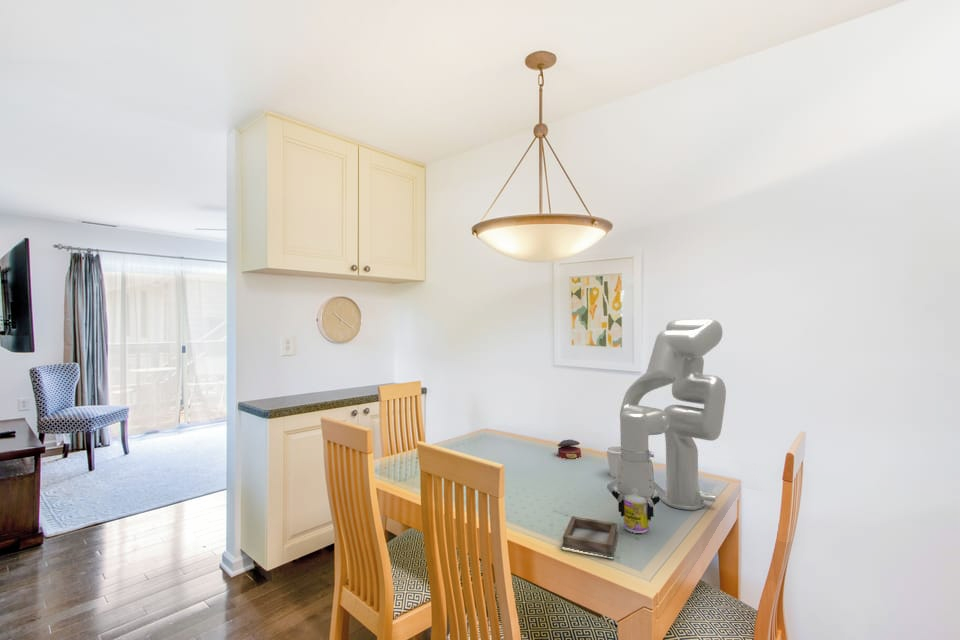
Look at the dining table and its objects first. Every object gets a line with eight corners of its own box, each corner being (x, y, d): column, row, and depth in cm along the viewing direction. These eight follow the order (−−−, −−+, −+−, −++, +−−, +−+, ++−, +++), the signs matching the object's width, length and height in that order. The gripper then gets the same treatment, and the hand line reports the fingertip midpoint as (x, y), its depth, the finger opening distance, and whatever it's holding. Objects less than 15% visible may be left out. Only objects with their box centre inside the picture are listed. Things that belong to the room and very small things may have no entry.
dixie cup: (625, 480, 161) (625, 453, 161) (603, 476, 166) (603, 450, 166) (631, 473, 168) (631, 447, 168) (610, 469, 173) (609, 444, 173)
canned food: (559, 468, 190) (548, 447, 192) (569, 459, 198) (558, 439, 200) (580, 460, 183) (568, 438, 185) (589, 451, 191) (578, 431, 193)
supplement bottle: (619, 529, 125) (618, 484, 125) (630, 521, 130) (629, 478, 130) (642, 537, 120) (641, 491, 120) (652, 528, 125) (651, 484, 125)
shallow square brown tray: (618, 535, 122) (618, 522, 122) (613, 560, 110) (613, 546, 110) (571, 527, 127) (570, 515, 127) (561, 550, 115) (561, 536, 115)
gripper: (667, 453, 125) (668, 515, 125) (605, 448, 132) (606, 506, 132) (667, 462, 118) (668, 527, 118) (601, 455, 125) (603, 517, 125)
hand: (635, 516), depth 125 cm, fingers closed on supplement bottle, 6 cm apart
